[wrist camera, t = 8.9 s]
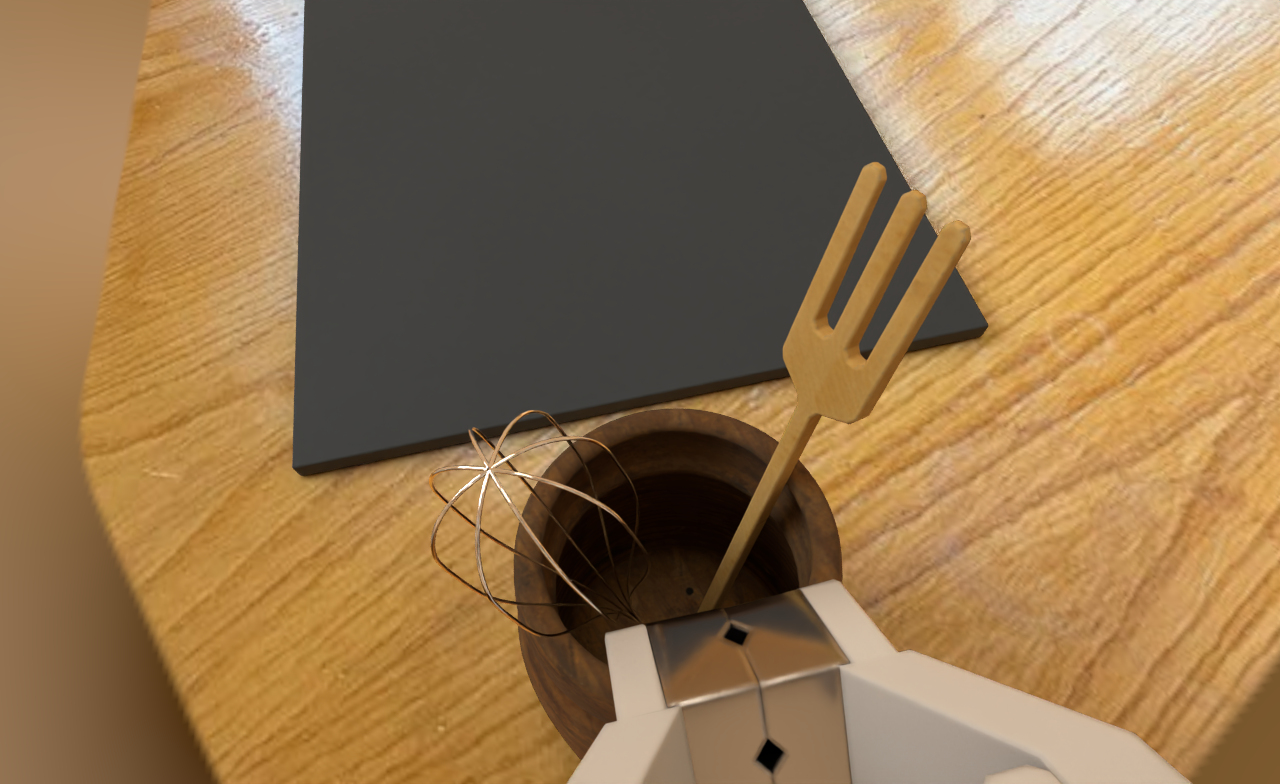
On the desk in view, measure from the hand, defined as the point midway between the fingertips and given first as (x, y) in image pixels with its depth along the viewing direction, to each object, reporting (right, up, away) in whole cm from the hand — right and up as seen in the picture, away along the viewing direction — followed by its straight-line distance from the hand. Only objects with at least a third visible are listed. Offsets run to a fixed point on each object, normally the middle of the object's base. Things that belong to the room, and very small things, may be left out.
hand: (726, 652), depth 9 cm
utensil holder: (0, -3, +8) cm, 8 cm away
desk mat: (-4, +18, +20) cm, 27 cm away
